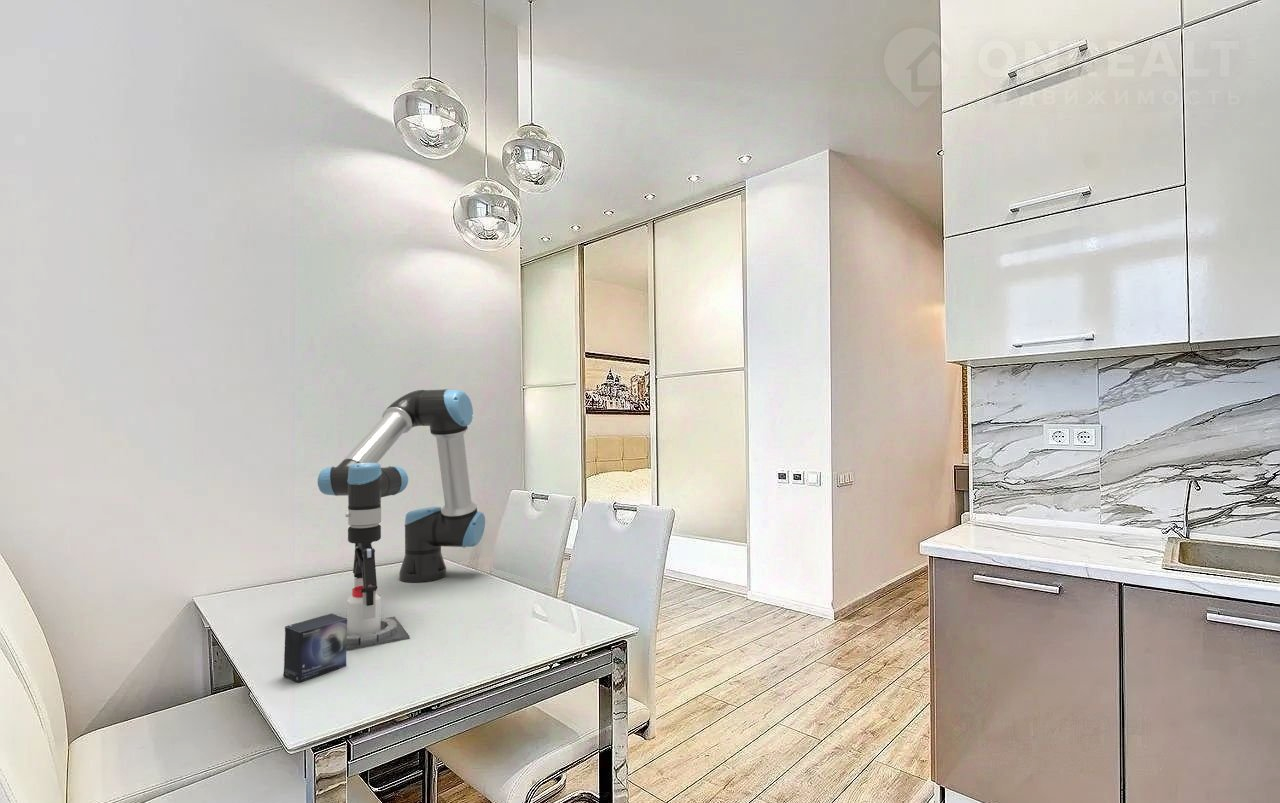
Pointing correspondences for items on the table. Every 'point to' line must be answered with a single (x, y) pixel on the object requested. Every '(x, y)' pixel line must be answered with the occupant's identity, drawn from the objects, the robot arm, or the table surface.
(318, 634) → the small box
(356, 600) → the pill bottle
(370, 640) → the ring seat
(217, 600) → the table surface
